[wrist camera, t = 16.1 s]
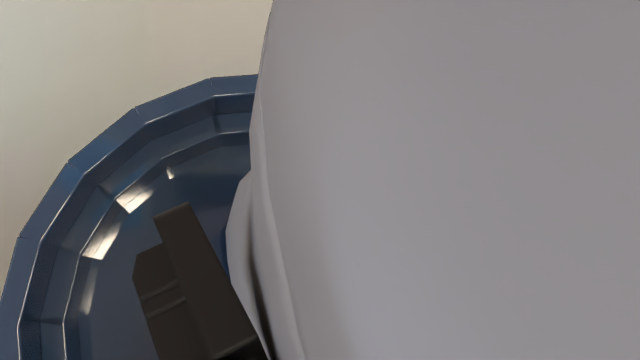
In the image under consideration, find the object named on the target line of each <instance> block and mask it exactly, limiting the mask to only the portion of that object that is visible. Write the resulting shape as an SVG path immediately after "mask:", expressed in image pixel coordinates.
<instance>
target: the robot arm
mask: <svg viewBox="0 0 640 360" xmlns="http://www.w3.org/2000/svg"><path fill="white" fill-rule="evenodd" d="M153 220H154V223H155V225H156V227H157V230H158V232H159V235H160V237H161V239H162V242H163V243H161V244H158V245H156V246H154V247H152V248H150V249H148V250H145V251H143V252H141V253H139V254H137V256H136V261H135V265H134V270H133V275H132V280H133V283H134V286H135V289H136V292H137V295H138V298H139V300H140V304H141V307H142V310H143V313H144V316H145V318H146V322H147V325H148V328H149V331H150V335H151V338H152V341H153V344H154V347H155V350H156V353H157V356H158V359H159V360H268V358H267V356H266V353H265V351H264V348H263V346H262V343H261V341H260V339H259V336H258V334H257V332H256V330H255V328H254V326H253V324H252V323H251V321H250V319H249V317H248V315H247V313H246V311H245V309H244V307H243V305H242V303H241V301H240V299H239V297H238V296H237V294H236V292H235V290H234V288H233V286H232V284H231V282H230V280H229V278H228V276H227V274H226V272H225V270H224V269H223V267H222V265H221V263H220V261H219V259H218V257H217V255H216V253H215V251H214V249H213V247H212V245H211V243H210V242H209V240H208V238H207V236H206V234H205V232H204V230H203V228H202V226H201V224H200V222H199V220H198V218H197V216H196V215H195V213H194V211H193V209H192V207H191V205H190V203H189V201H187V202H185V203H183V204H181V205H178V206H176V207H174V208H172V209H169V210H167V211H165V212H163V213H161V214H158V215H156V216H154V217H153Z"/></svg>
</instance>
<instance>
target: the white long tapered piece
mask: <svg viewBox="0 0 640 360" xmlns="http://www.w3.org/2000/svg"><path fill="white" fill-rule="evenodd" d="M249 137H250V156H251V170H250V171H249V172H248V173H247V175H246V176H245V177H244V178H243V179H242V180H241V181H240V182H239V184H238V188H237V191H236V194H235V197H234V200H233V205H232V208H231V211H230V215H229V219H228V223H227V227H226V231H225V233H226V247H227V261H228V267H229V273H230V279H231V284H232V286H233V288H234V290H235V292H236V294H237V296H238V297H239V299H240V301H241V303H242V305H243V307H244V309H245V311H246V313H247V315H248V317H249V319H250V321H251V323H252V324H253V326H254V328H255V330H256V332H257V334H258V336H259V339H260V341H261V343H262V346H263V348H264V351H265V353H266V356H267V358H268V360H640V0H273V3H272V8H271V12H270V15H269V19H268V23H267V27H266V32H265V36H264V42H263V48H262V54H261V61H260V67H259V73H258V79H257V85H256V91H255V97H254V103H253V110H252V116H251V122H250V129H249Z"/></svg>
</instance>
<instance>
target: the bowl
mask: <svg viewBox="0 0 640 360" xmlns="http://www.w3.org/2000/svg"><path fill="white" fill-rule="evenodd" d="M257 79H258V74H255V75H241V76H227V77H213V78H210V79H205V80H202V81H200V82H197V83H195V84H192V85H190V86H187V87H185V88H182V89H179V90H177V91H174V92H172V93H169V94H167V95H164V96H162V97H159V98H157V99H154V100H152V101H149V102H146V103H144V104H141V105H139V106H136V107H135V109H134V108H133V109H131V110H130V111H129V112H127V113H126V114H125V115H124V116H122V117H121V118H120V119H119V120H117V121H116V122H115V123H114V124H112V125H111V126H110V127H109V128H108V129H106V130H105V131H104V132H103V133H101V134H100V135H99V136H98V137H96V138H95V139H94V140H93V141H91V142H90V143H89V144H88V145H87V146H85V147H84V148H83V149H82V150H80V151H79V152H78V153H77V154H75V155H74V156H73V157H72V158H70V159H69V160H68V163H66V164H65V165H64V167H63V169H62V170H61V172H60V173H59V175H58V176H57V178H56V179H55V181H54V182H53V184H52V185H51V187H50V188H49V190H48V191H47V193H46V194H45V196H44V197H43V199H42V201H41V202H40V204H39V205H38V207H37V208H36V210H35V211H34V213H33V214H32V216H31V217H30V219H29V220H28V222H27V223H26V225H25V226H24V228H23V229H22V231H21V232H20V235H19V236H20V237H18V238H17V241H16V245H15V248H14V252H13V256H12V259H11V263H10V267H9V271H8V274H7V278H6V282H5V285H4V289H3V293H2V296H1V300H0V360H159V359H158V356H157V353H156V350H155V347H154V344H153V341H152V338H151V335H150V331H149V328H148V325H147V322H146V318H145V316H144V313H143V310H142V307H141V304H140V300H139V298H138V295H137V292H136V289H135V286H134V283H133V280H132V275H133V270H134V265H135V261H136V256H137V254H139V253H141V252H143V251H145V250H148V249H150V248H152V247H154V246H156V245H158V244H161V243H163V242H162V239H161V237H160V235H159V232H158V230H157V227H156V225H155V223H154V220H153V217H154V216H156V215H158V214H161V213H163V212H165V211H167V210H169V209H172V208H174V207H176V206H178V205H181V204H183V203H185V202H187V201H189V203H190V205H191V207H192V209H193V211H194V213H195V215H196V216H197V218H198V220H199V222H200V224H201V226H202V228H203V230H204V232H205V234H206V236H207V238H208V240H209V242H210V243H211V245H212V247H213V249H214V251H215V253H216V255H217V257H218V259H219V261H220V263H221V265H222V267H223V269H224V270H225V272H226V274H227V276H228V278H229V280H230V282H231V279H230V273H229V267H228V261H227V247H226V233H225V231H226V227H227V223H228V219H229V215H230V211H231V208H232V205H233V200H234V197H235V194H236V191H237V188H238V184H239V182H240V181H241V180H242V179H243V178H244V177H245V176H246V175H247V173H248V172H249V171H250V170H251V156H250V137H249V129H250V122H251V116H252V110H253V103H254V97H255V91H256V85H257Z"/></svg>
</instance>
